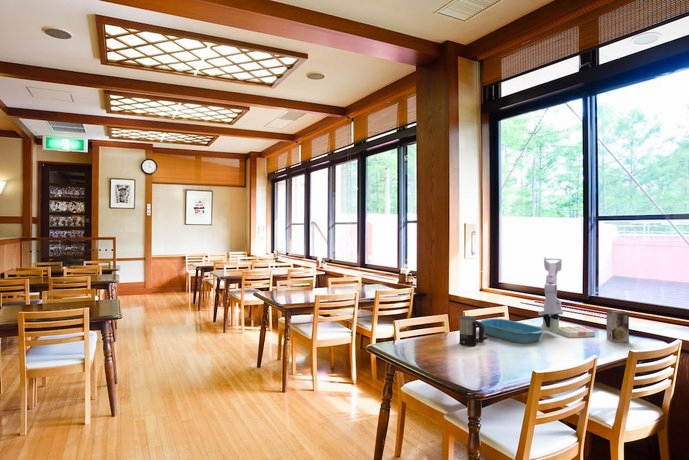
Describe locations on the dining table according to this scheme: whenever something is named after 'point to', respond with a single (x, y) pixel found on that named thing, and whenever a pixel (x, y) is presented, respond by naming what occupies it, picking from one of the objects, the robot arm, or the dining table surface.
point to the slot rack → (575, 331)
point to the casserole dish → (511, 330)
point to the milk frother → (470, 331)
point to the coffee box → (618, 326)
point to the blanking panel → (552, 325)
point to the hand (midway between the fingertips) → (550, 326)
